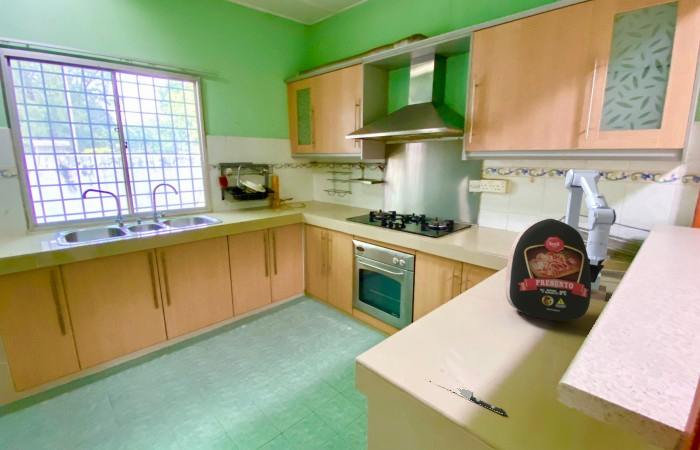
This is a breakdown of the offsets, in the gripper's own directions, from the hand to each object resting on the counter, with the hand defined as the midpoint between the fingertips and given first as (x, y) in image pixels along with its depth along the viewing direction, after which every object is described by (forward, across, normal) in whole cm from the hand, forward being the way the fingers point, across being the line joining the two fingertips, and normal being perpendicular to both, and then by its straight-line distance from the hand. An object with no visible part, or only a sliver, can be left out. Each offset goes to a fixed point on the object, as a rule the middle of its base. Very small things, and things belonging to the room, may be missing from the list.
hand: (591, 278), depth 114 cm
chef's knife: (+6, -78, +18) cm, 80 cm away
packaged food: (+6, -28, +11) cm, 31 cm away
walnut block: (+6, 0, 0) cm, 6 cm away
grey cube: (+3, 0, 0) cm, 3 cm away
